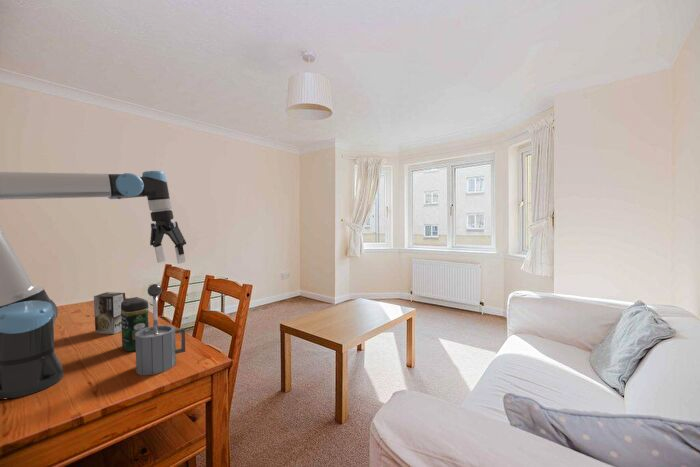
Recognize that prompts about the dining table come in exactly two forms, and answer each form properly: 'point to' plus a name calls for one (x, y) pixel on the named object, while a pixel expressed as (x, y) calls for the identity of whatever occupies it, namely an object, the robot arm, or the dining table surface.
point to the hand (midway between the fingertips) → (171, 262)
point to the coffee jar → (133, 320)
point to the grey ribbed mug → (157, 350)
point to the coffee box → (108, 312)
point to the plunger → (155, 310)
